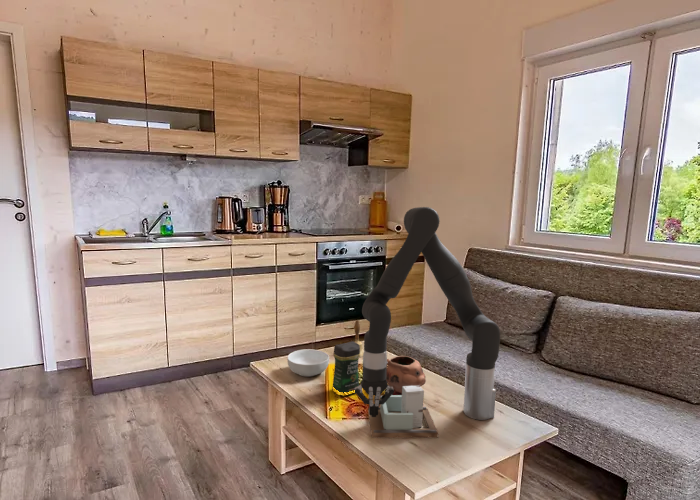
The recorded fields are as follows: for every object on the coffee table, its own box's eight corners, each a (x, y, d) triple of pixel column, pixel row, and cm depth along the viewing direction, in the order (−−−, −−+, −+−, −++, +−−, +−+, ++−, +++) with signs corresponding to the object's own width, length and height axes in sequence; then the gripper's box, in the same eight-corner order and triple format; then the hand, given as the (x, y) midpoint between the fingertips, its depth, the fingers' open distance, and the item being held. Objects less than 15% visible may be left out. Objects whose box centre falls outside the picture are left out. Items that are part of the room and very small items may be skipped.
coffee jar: (341, 399, 153) (342, 349, 150) (329, 390, 159) (329, 342, 157) (362, 392, 159) (364, 344, 156) (350, 384, 165) (351, 338, 163)
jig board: (427, 412, 144) (427, 406, 144) (437, 437, 130) (438, 431, 129) (368, 412, 144) (368, 406, 143) (371, 437, 129) (372, 431, 129)
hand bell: (346, 356, 193) (347, 322, 191) (349, 350, 201) (350, 317, 199) (364, 358, 192) (365, 323, 190) (367, 351, 200) (367, 318, 198)
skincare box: (404, 429, 134) (405, 392, 133) (400, 421, 138) (401, 385, 137) (423, 427, 135) (424, 390, 134) (418, 420, 140) (419, 384, 138)
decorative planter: (369, 392, 158) (370, 356, 156) (387, 382, 168) (388, 348, 166) (416, 410, 146) (417, 371, 144) (433, 398, 155) (435, 361, 153)
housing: (405, 409, 143) (406, 395, 142) (412, 430, 130) (413, 414, 130) (379, 409, 143) (380, 395, 142) (384, 430, 130) (384, 414, 129)
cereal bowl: (298, 385, 164) (298, 367, 163) (280, 370, 177) (280, 353, 177) (336, 375, 173) (336, 358, 172) (316, 361, 187) (316, 346, 186)
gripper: (394, 359, 138) (392, 410, 140) (353, 359, 137) (352, 410, 140) (397, 368, 130) (395, 422, 133) (354, 368, 130) (353, 422, 132)
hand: (373, 415), depth 136 cm, fingers closed
